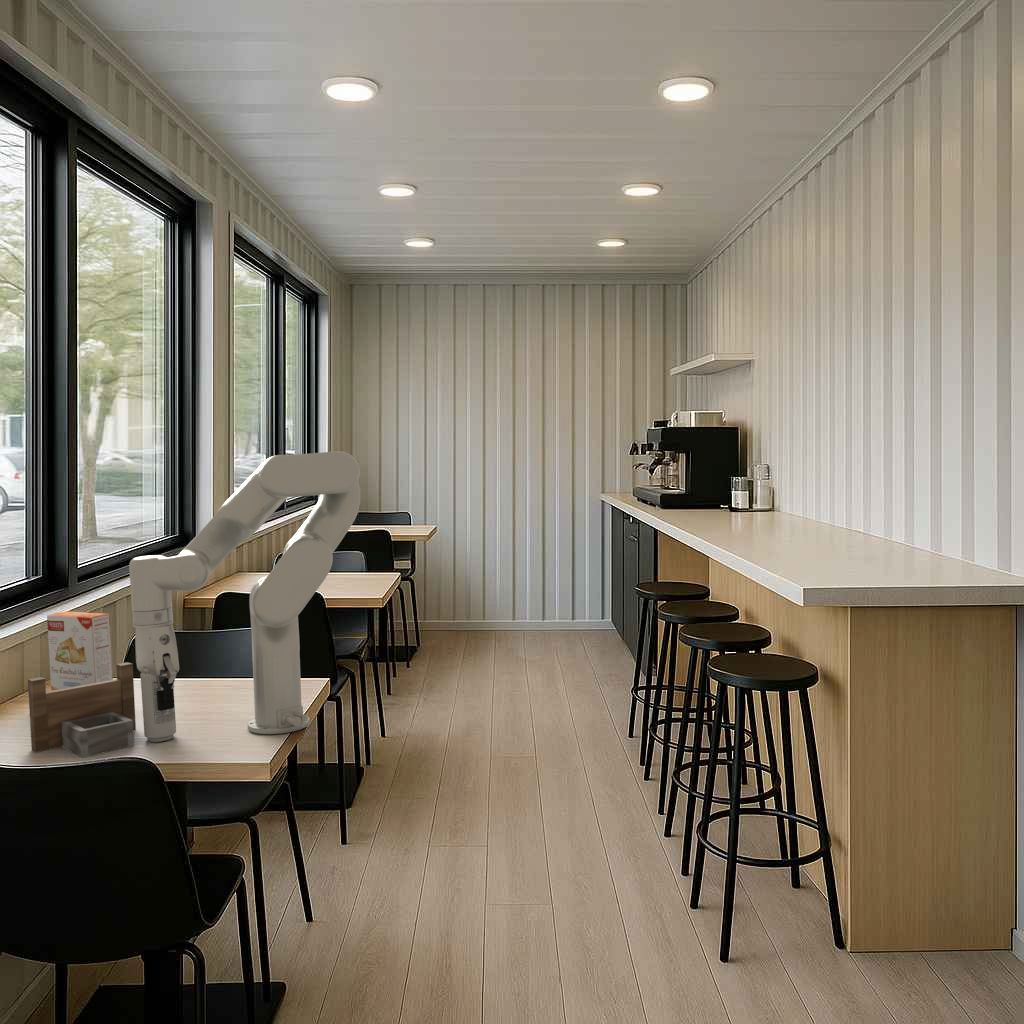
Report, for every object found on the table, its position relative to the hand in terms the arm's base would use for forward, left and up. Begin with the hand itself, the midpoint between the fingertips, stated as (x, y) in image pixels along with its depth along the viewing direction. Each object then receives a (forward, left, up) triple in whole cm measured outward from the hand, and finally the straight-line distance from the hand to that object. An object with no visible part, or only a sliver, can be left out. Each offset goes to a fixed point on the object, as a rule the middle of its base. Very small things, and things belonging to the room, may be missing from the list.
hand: (158, 705), depth 191 cm
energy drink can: (0, 0, -7) cm, 7 cm away
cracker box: (+45, -2, -7) cm, 46 cm away
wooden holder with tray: (+6, +10, -7) cm, 14 cm away
